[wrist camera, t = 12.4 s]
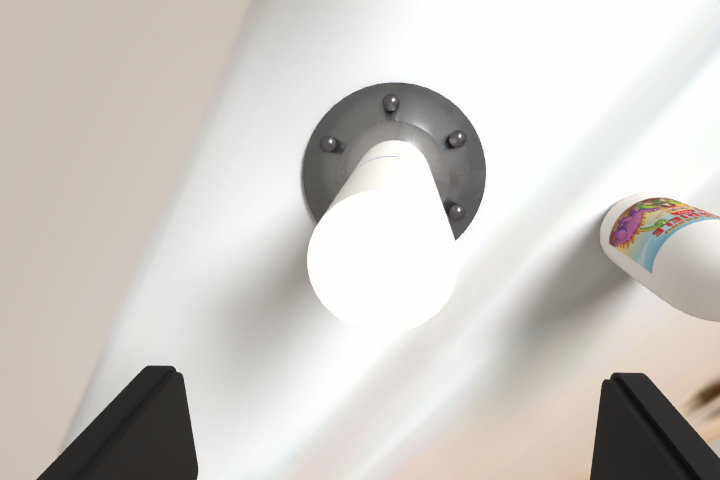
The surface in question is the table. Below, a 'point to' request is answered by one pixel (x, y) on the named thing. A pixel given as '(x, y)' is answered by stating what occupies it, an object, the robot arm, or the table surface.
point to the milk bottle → (667, 250)
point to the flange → (403, 123)
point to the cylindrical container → (385, 244)
